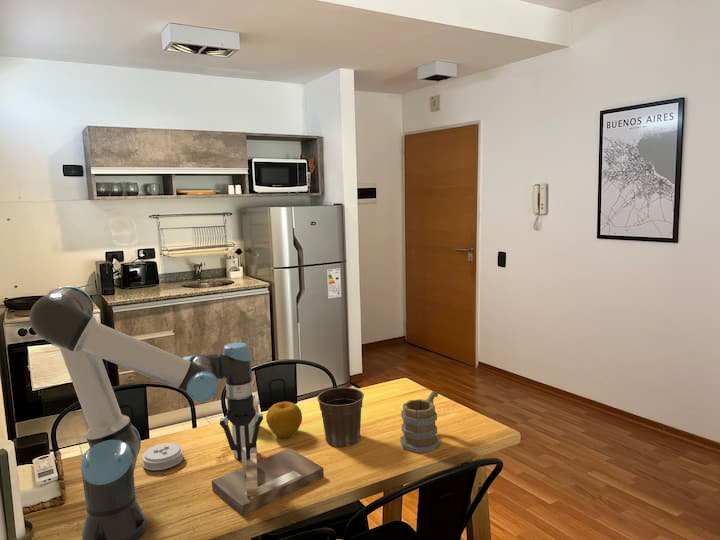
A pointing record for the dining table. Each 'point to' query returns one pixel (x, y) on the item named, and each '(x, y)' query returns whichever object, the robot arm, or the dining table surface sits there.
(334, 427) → the plant pot
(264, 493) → the stool seat
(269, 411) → the apple
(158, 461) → the lid
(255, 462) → the folding leg
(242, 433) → the milk bottle
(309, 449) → the dining table surface
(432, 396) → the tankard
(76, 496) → the dining table surface
